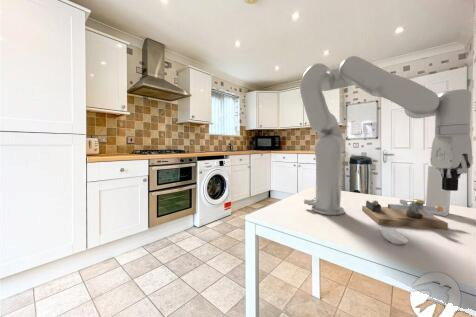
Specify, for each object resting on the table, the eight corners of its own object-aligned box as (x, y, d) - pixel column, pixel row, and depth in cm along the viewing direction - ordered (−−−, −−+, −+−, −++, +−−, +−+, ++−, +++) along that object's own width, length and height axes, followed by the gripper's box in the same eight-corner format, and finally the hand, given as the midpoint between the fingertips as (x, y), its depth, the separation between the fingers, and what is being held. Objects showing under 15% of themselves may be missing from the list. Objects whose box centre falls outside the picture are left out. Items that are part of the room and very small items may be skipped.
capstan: (400, 223, 66) (401, 206, 66) (378, 208, 82) (379, 193, 81) (460, 227, 63) (462, 209, 62) (425, 210, 78) (426, 195, 78)
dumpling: (375, 238, 61) (375, 225, 61) (387, 235, 63) (388, 223, 62) (399, 250, 54) (400, 235, 54) (413, 246, 56) (414, 232, 56)
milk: (446, 216, 78) (450, 158, 76) (425, 212, 83) (428, 157, 81) (449, 213, 81) (453, 157, 80) (428, 209, 86) (432, 157, 84)
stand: (378, 224, 71) (379, 207, 70) (362, 210, 85) (362, 196, 85) (447, 229, 67) (448, 211, 66) (417, 213, 81) (418, 198, 81)
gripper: (421, 133, 72) (420, 185, 73) (457, 130, 57) (454, 195, 58) (447, 132, 70) (445, 185, 71) (490, 129, 55) (487, 196, 56)
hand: (449, 190), depth 65 cm, fingers closed
